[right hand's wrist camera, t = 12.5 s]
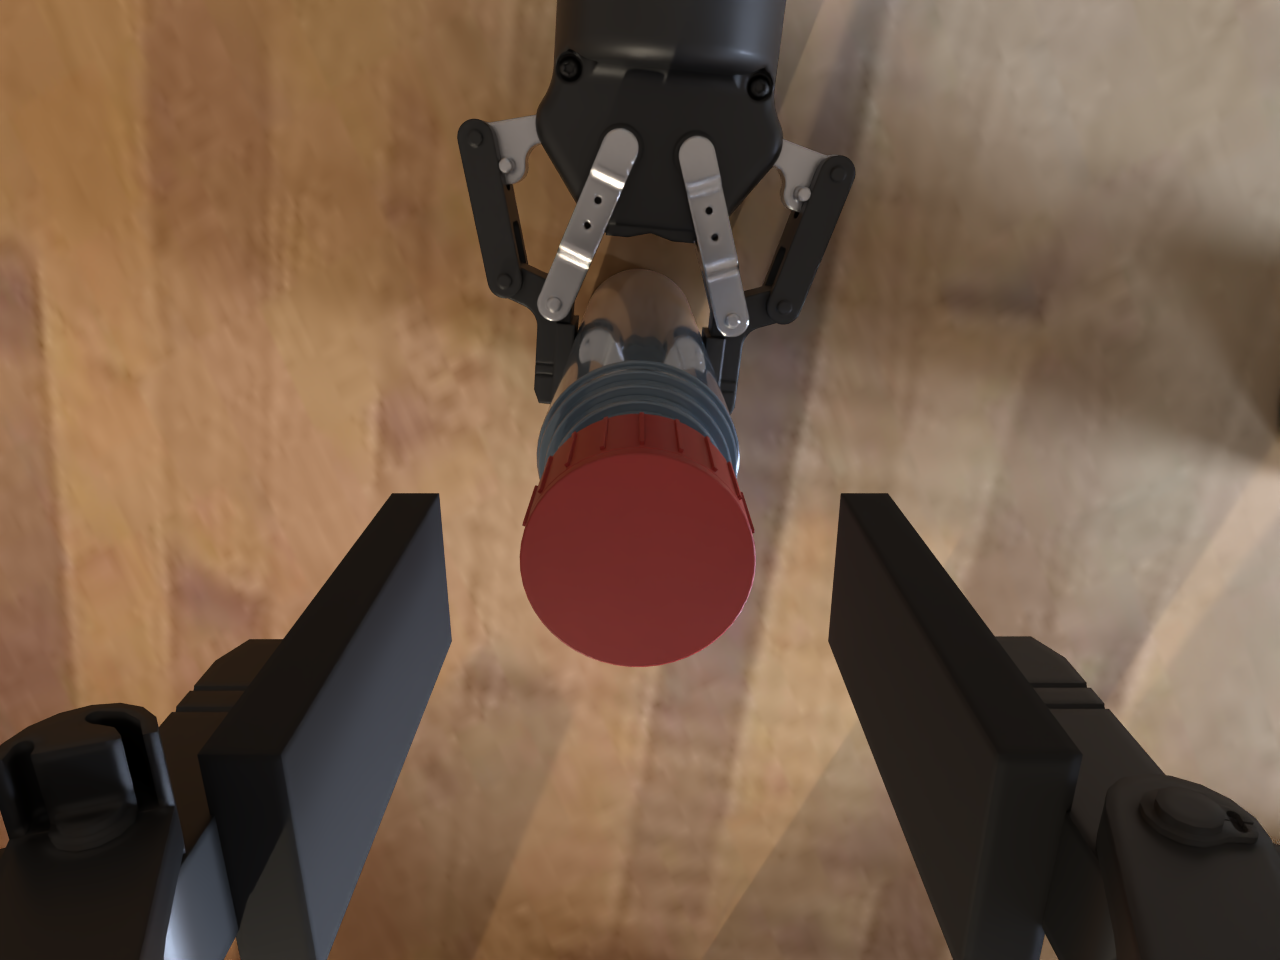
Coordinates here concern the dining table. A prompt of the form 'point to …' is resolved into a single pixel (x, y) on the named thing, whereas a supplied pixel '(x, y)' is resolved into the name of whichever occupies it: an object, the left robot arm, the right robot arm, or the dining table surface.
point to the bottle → (638, 366)
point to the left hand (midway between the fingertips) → (633, 419)
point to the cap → (637, 542)
